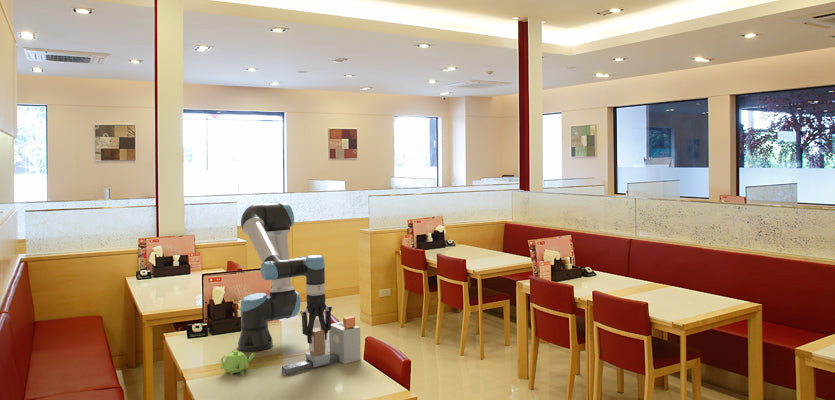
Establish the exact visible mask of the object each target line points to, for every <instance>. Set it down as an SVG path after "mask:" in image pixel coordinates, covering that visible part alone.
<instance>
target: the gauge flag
mask: <svg viewBox="0 0 835 400" xmlns="http://www.w3.org/2000/svg"><path fill="white" fill-rule="evenodd" d="M342 321H343V327H344V328H351V327H355V325H356V316H353V315H349V316H345V317H343V318H342Z"/></svg>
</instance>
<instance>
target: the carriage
mask: <svg viewBox="0 0 835 400" xmlns="http://www.w3.org/2000/svg"><path fill="white" fill-rule="evenodd" d="M312 335H313V336H314V352H312V351H310V350H309V351H308V352H305V361H306V360H310V361H312V362H313V367H316V366H319V365H323V364H327V363H329V359H330V353H327V352H325V338H324V330H323V329H321V328H315V329H313V332H312Z"/></svg>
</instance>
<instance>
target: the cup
mask: <svg viewBox="0 0 835 400" xmlns="http://www.w3.org/2000/svg"><path fill="white" fill-rule="evenodd" d="M324 320H325V313H324ZM315 328H321V325H320V321H319V317H318V316H316V318H315V320H314V326H313V329H315ZM325 352H327V353H328V354H330V346H329V331H328V333H327V340H325Z"/></svg>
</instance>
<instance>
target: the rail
mask: <svg viewBox="0 0 835 400" xmlns="http://www.w3.org/2000/svg"><path fill="white" fill-rule="evenodd" d="M329 354H330V353H329ZM338 362H340V361H339V355H337V354H335V353H333V354H330V359H329V363H327V364H323V365H319V366H316V367H313V362H312V361H310V360H306V359H305V360H302V361H299V362H294V363H290V364H286V365H283V366H281V373H282V374H283V375H285V376H290V375H294V374H298V373H301V372H305V371H309V370H313V369H316V368H320V367H323V366H327V365H331V364H332V365H333V364H334V363H338Z"/></svg>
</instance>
